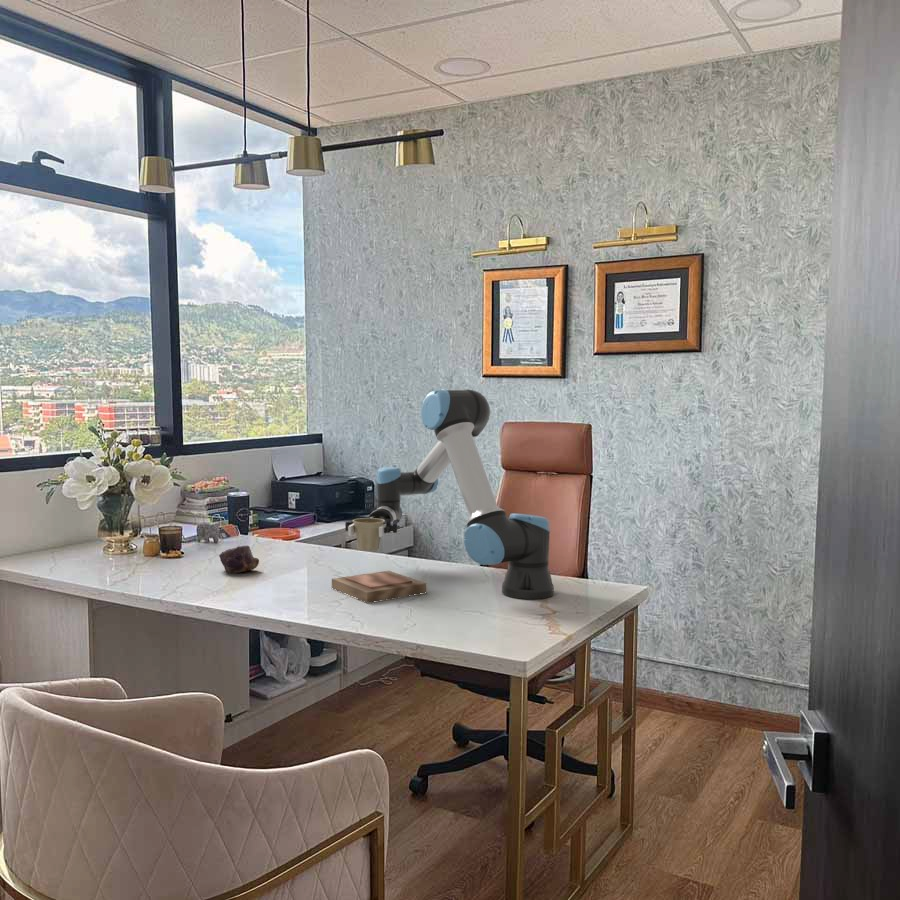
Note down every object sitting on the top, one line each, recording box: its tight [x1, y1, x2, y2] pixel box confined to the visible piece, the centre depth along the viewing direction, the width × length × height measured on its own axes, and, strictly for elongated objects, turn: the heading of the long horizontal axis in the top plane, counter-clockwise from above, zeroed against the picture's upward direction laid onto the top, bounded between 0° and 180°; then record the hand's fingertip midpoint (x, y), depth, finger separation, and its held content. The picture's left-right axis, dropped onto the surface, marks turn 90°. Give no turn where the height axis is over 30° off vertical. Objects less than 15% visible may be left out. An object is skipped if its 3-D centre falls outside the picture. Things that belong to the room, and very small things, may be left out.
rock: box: [218, 545, 260, 574], centre depth 267 cm, size 12×9×10 cm
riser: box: [331, 570, 427, 603], centre depth 245 cm, size 20×20×4 cm
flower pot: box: [352, 517, 385, 552], centre depth 247 cm, size 9×9×9 cm
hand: (364, 531), depth 242 cm, fingers closed on flower pot, 8 cm apart
